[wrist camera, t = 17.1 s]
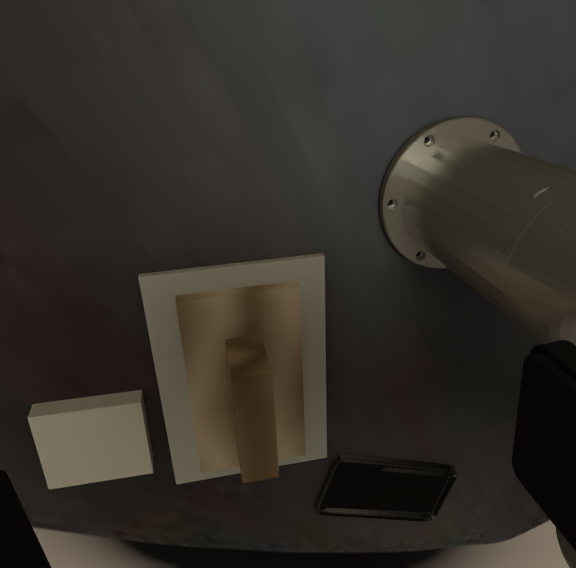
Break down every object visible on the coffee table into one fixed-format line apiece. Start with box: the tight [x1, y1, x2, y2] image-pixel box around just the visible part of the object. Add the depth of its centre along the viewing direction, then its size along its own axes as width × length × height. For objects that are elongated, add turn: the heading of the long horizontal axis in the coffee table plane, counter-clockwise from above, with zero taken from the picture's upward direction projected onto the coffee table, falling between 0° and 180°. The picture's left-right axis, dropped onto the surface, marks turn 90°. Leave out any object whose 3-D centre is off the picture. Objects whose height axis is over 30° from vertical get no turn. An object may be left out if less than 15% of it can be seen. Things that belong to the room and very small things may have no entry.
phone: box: [314, 454, 457, 521], centre depth 56 cm, size 8×1×15 cm
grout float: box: [175, 281, 306, 483], centre depth 43 cm, size 10×18×7 cm, turn 2°
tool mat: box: [138, 253, 327, 484], centre depth 46 cm, size 15×22×1 cm
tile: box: [28, 390, 154, 489], centre depth 45 cm, size 9×2×8 cm
